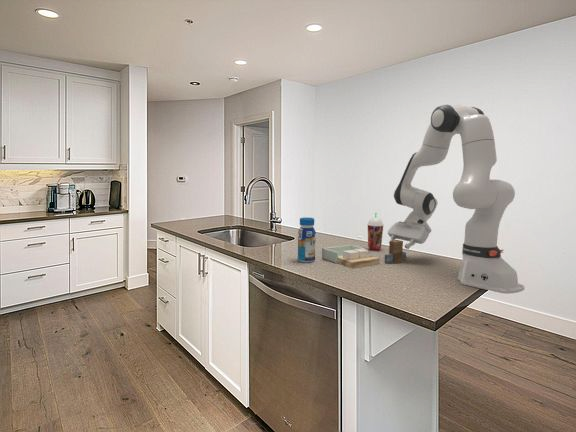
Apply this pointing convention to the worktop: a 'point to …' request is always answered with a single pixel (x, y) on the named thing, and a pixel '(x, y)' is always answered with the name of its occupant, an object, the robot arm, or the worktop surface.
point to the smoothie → (375, 233)
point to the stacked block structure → (395, 252)
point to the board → (359, 261)
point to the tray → (336, 252)
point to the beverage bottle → (306, 240)
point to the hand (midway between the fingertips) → (398, 246)
